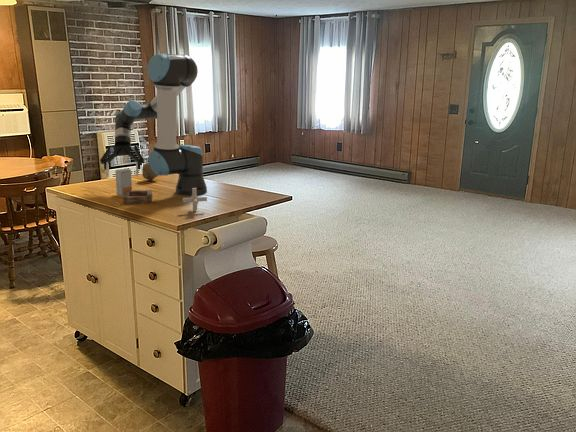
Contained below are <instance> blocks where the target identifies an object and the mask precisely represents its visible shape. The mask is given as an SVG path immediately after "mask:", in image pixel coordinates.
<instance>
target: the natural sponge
mask: <svg viewBox="0 0 576 432" xmlns="http://www.w3.org/2000/svg"><path fill="white" fill-rule="evenodd" d="M141 170H142V173H141V174H142V177H143V178H144V180H147V181H153V180H154V179H156V178H157V177H159V175H157V174H155V173H154V172H153V171H152V169H151V167H150V165H149V162H146V163H144V164H143V166H142V169H141Z"/></svg>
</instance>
